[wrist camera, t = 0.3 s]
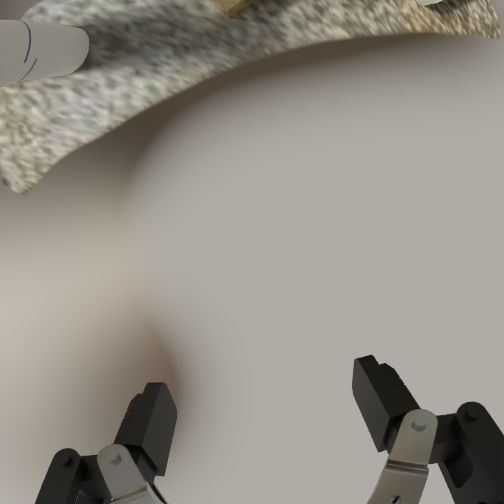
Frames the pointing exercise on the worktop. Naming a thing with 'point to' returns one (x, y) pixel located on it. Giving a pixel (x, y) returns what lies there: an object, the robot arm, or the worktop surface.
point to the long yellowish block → (231, 6)
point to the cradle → (429, 2)
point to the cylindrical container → (39, 50)
